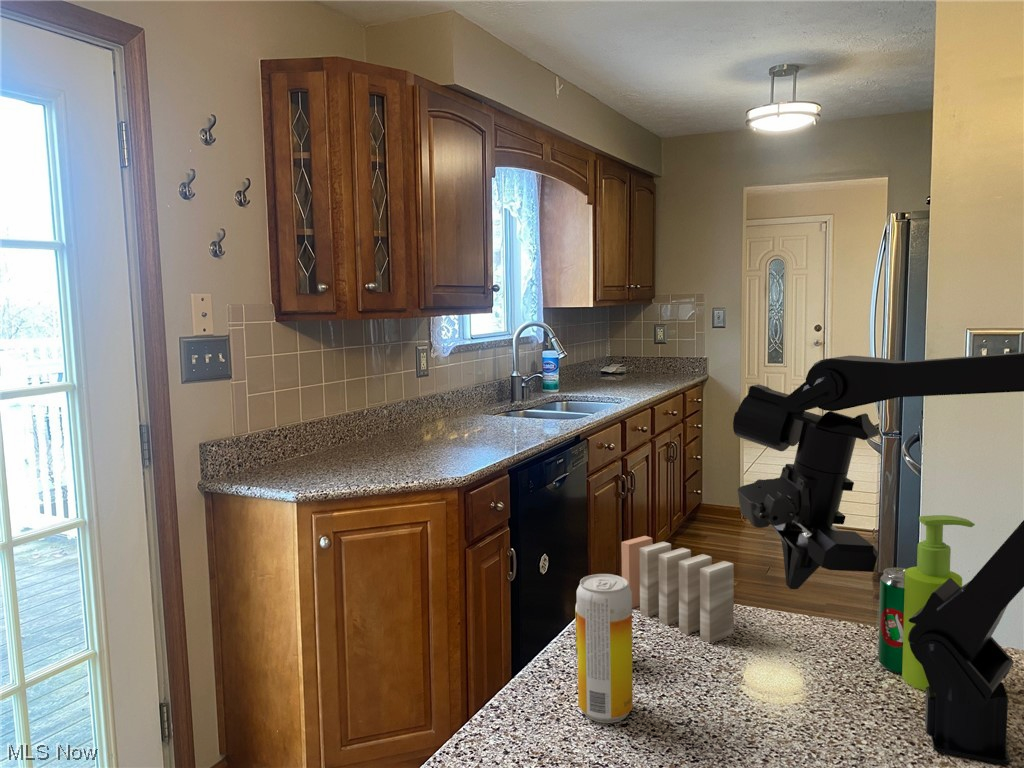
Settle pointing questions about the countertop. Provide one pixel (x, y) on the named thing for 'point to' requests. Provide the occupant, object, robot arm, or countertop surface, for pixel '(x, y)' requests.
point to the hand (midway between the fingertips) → (791, 587)
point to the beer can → (604, 647)
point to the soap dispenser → (926, 586)
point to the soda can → (891, 619)
